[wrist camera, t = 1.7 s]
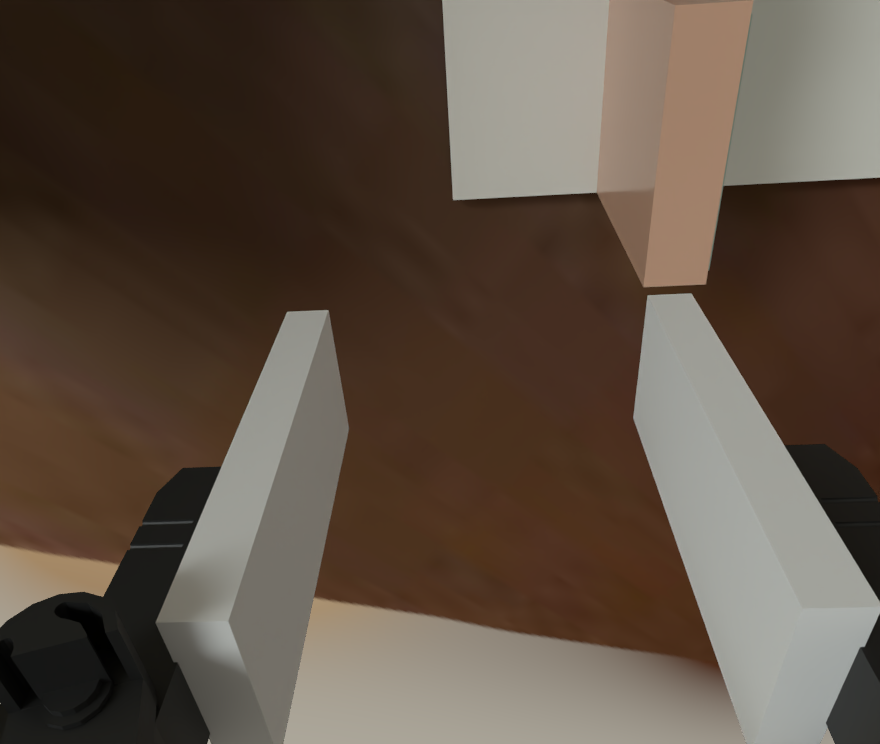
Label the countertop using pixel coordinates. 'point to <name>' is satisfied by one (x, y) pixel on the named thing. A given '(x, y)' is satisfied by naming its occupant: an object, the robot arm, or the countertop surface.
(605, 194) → the tile
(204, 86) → the countertop surface
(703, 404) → the robot arm
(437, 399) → the countertop surface
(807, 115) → the stone board
